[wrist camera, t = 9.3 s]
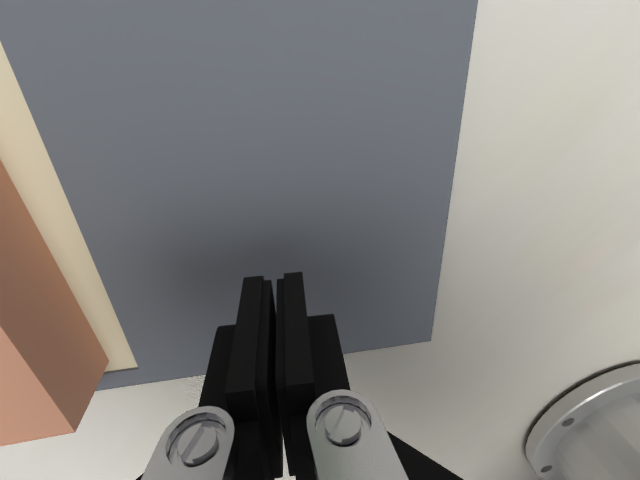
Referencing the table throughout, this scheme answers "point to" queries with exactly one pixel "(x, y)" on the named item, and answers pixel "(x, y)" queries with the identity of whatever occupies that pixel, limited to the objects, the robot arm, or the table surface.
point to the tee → (39, 334)
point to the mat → (235, 161)
